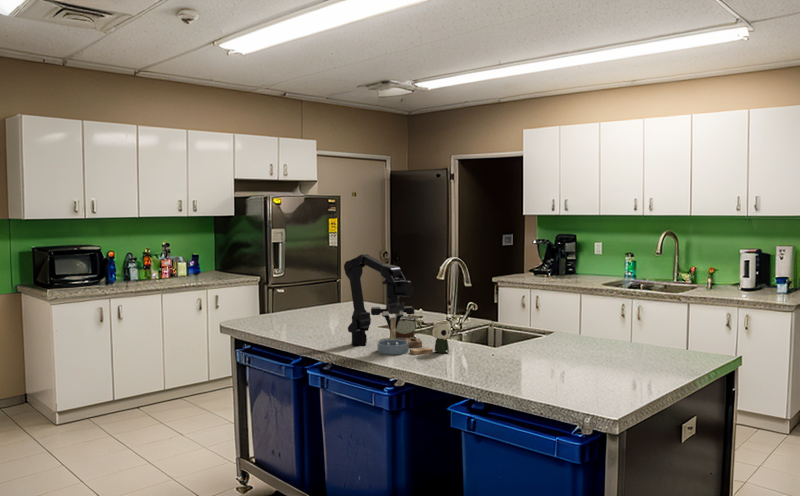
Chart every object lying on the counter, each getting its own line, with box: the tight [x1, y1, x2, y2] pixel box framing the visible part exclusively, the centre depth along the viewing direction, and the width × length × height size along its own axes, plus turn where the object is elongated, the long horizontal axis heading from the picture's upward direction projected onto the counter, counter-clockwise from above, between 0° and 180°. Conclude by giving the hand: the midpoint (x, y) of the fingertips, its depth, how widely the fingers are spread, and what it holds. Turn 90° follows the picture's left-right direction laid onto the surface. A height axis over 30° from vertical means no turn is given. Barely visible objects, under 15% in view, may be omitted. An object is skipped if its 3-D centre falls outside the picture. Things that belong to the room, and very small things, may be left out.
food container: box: [393, 315, 418, 339], centre depth 300 cm, size 12×6×10 cm, turn 84°
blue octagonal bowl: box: [376, 338, 410, 356], centre depth 269 cm, size 13×13×4 cm
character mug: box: [431, 321, 452, 354], centre depth 266 cm, size 11×7×13 cm, turn 132°
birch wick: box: [389, 316, 397, 340], centre depth 268 cm, size 2×4×9 cm, turn 8°
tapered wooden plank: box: [409, 346, 434, 356], centre depth 266 cm, size 9×4×2 cm, turn 117°
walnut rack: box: [404, 337, 423, 349], centre depth 281 cm, size 7×8×2 cm
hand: (392, 330), depth 268 cm, fingers closed on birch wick, 2 cm apart
